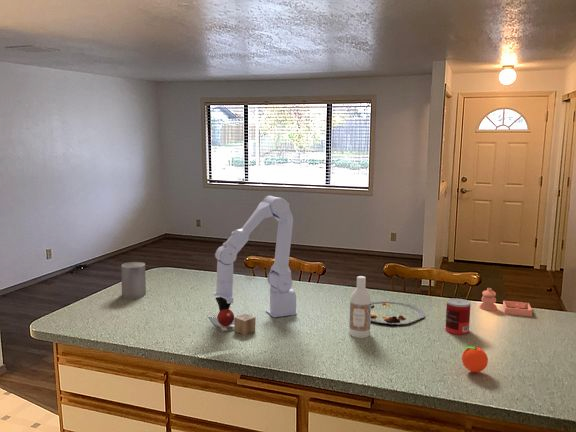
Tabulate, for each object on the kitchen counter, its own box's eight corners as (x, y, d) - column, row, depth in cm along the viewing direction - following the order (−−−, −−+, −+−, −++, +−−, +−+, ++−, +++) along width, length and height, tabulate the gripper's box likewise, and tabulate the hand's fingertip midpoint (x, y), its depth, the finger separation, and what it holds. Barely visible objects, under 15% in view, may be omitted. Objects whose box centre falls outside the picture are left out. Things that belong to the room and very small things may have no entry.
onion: (233, 317, 180) (240, 311, 173) (226, 330, 177) (232, 326, 170) (219, 308, 179) (225, 303, 173) (212, 322, 176) (217, 317, 170)
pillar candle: (128, 292, 216) (127, 258, 214) (149, 293, 214) (149, 259, 212) (117, 299, 206) (116, 263, 204) (140, 300, 205) (139, 264, 203)
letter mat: (235, 312, 191) (235, 312, 191) (251, 327, 175) (251, 327, 174) (206, 316, 186) (206, 315, 186) (220, 332, 170) (220, 331, 170)
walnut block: (245, 313, 174) (255, 317, 170) (244, 327, 174) (255, 331, 171) (234, 317, 170) (245, 321, 167) (234, 331, 171) (244, 335, 167)
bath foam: (347, 337, 167) (349, 278, 164) (351, 330, 173) (352, 273, 171) (368, 339, 165) (370, 280, 162) (371, 332, 171) (373, 275, 169)
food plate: (394, 334, 171) (394, 324, 171) (343, 316, 189) (343, 307, 188) (435, 318, 188) (435, 309, 187) (385, 303, 205) (385, 295, 205)
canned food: (468, 330, 175) (470, 299, 173) (468, 338, 167) (470, 306, 166) (445, 327, 177) (447, 297, 176) (444, 335, 170) (446, 303, 168)
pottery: (528, 313, 194) (529, 288, 192) (531, 321, 185) (533, 295, 184) (478, 308, 199) (479, 284, 198) (479, 315, 190) (480, 290, 189)
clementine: (456, 373, 141) (458, 349, 140) (457, 363, 147) (459, 340, 146) (487, 378, 138) (489, 353, 137) (487, 368, 144) (488, 344, 143)
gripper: (208, 275, 182) (207, 312, 184) (219, 286, 169) (218, 325, 171) (227, 274, 185) (226, 310, 187) (239, 284, 172) (238, 323, 174)
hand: (223, 317), depth 179 cm, fingers closed, pressing on onion
